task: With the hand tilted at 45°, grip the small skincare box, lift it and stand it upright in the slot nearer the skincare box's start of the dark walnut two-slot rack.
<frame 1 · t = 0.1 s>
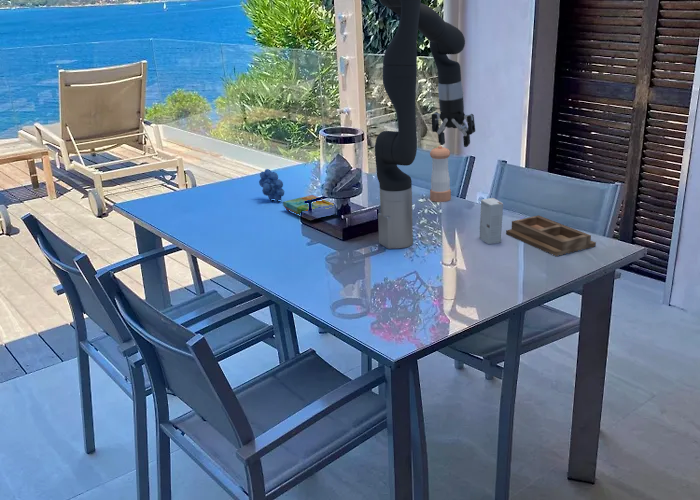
hand: (454, 145, 222), 22 cm above the table, tool pointing down, fingers open, 8 cm apart
skincare box: (490, 241, 201), on the table
puzzle game: (312, 215, 235), on the table
rack: (549, 240, 199), on the table
salt shaker: (440, 199, 244), on the table
grapes: (271, 202, 252), on the table
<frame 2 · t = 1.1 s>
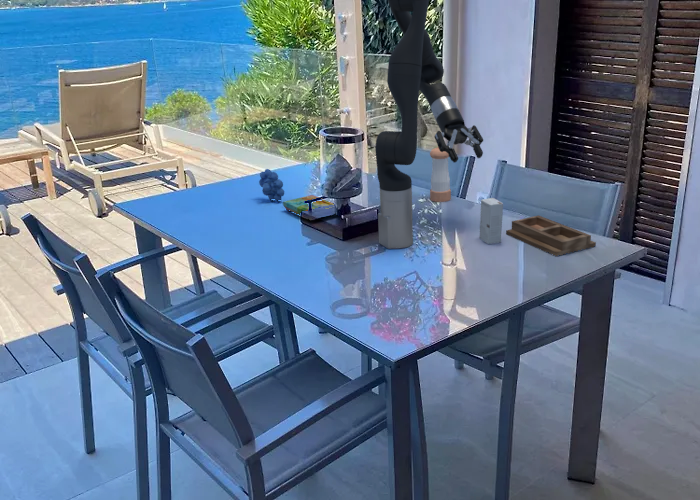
hand: (468, 158, 203), 22 cm above the table, tool tilted 45°, fingers open, 8 cm apart
nothing on the table moved.
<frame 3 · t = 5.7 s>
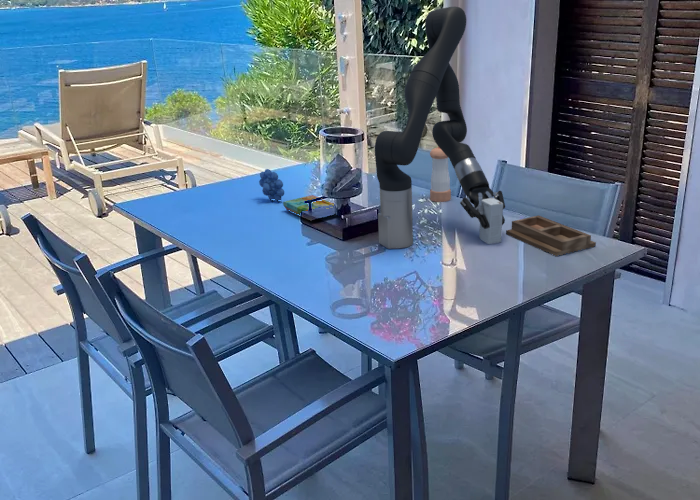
hand: (494, 225, 198), 5 cm above the table, tool tilted 45°, fingers closed on skincare box, 4 cm apart
skincare box: (490, 241, 201), on the table, touching gripper
everything else where it was.
when the fingers open (7 cm above the table, at t = 10.8 s): skincare box stays where it is, resting on rack.
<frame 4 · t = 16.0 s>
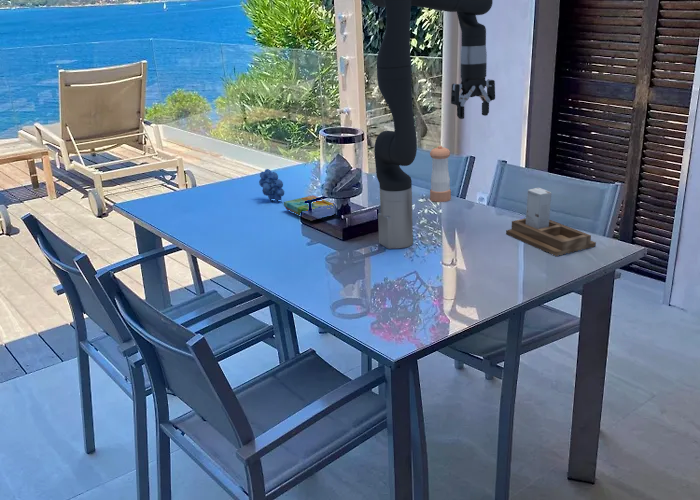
hand: (473, 116, 207), 33 cm above the table, tool pointing down, fingers open, 8 cm apart
skincare box: (537, 230, 203), point 1 cm above the table, touching rack
everything else where it was.
at the end: skincare box 0.4 cm from the target spot on the rack, point 1.2 cm above the rack's base; skincare box tilted 0°; the gripper is holding nothing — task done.
